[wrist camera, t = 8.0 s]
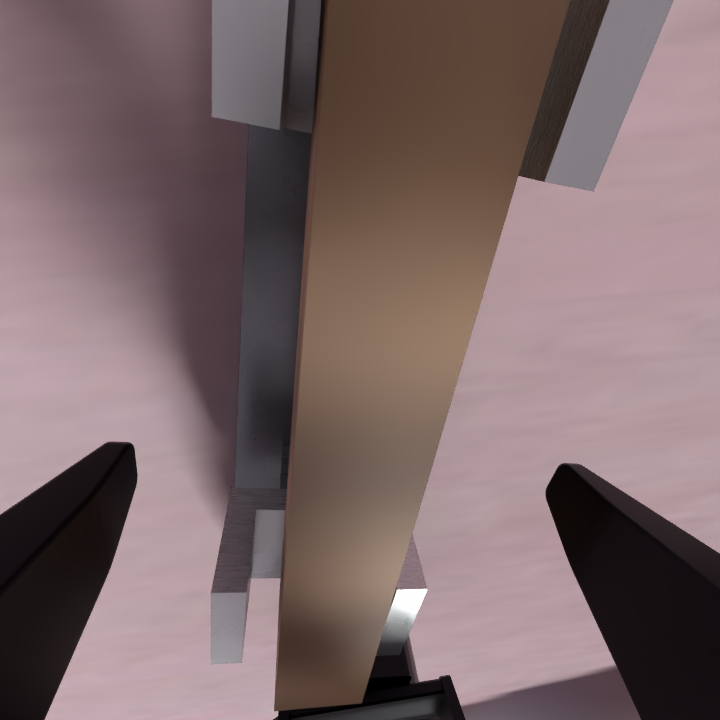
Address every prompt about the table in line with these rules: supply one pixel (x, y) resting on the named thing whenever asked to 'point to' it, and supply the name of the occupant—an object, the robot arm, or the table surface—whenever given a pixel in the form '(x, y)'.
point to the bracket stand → (287, 232)
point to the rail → (391, 297)
